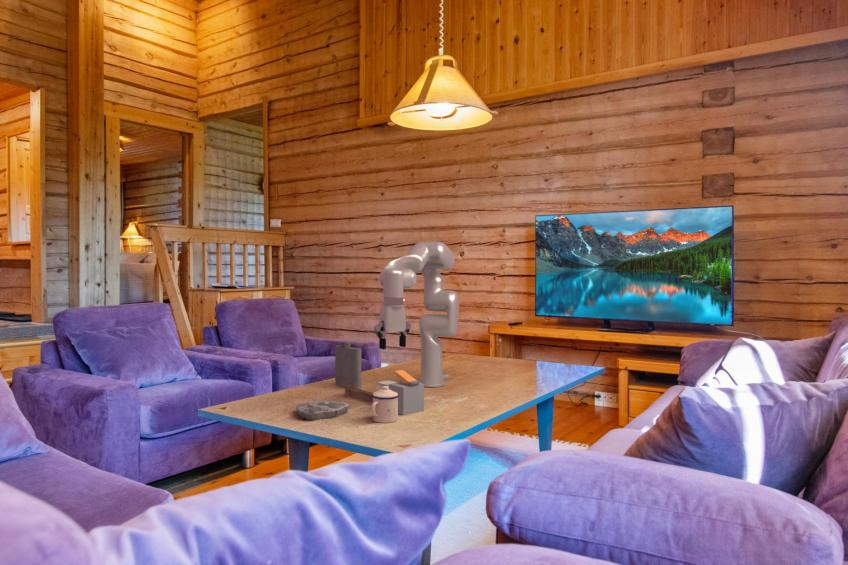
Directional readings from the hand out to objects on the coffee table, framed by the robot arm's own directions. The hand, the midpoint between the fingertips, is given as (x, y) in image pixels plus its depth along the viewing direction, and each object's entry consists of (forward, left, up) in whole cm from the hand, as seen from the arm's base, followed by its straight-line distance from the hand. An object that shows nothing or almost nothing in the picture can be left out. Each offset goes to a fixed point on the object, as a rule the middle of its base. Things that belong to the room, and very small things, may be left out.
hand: (392, 347), depth 223 cm
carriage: (0, -3, -23) cm, 23 cm away
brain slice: (+26, -10, -23) cm, 36 cm away
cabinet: (0, +8, -23) cm, 24 cm away
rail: (0, -11, -23) cm, 25 cm away
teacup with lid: (+15, +12, -23) cm, 30 cm away
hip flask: (-9, -41, -23) cm, 48 cm away
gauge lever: (0, +7, -11) cm, 13 cm away
